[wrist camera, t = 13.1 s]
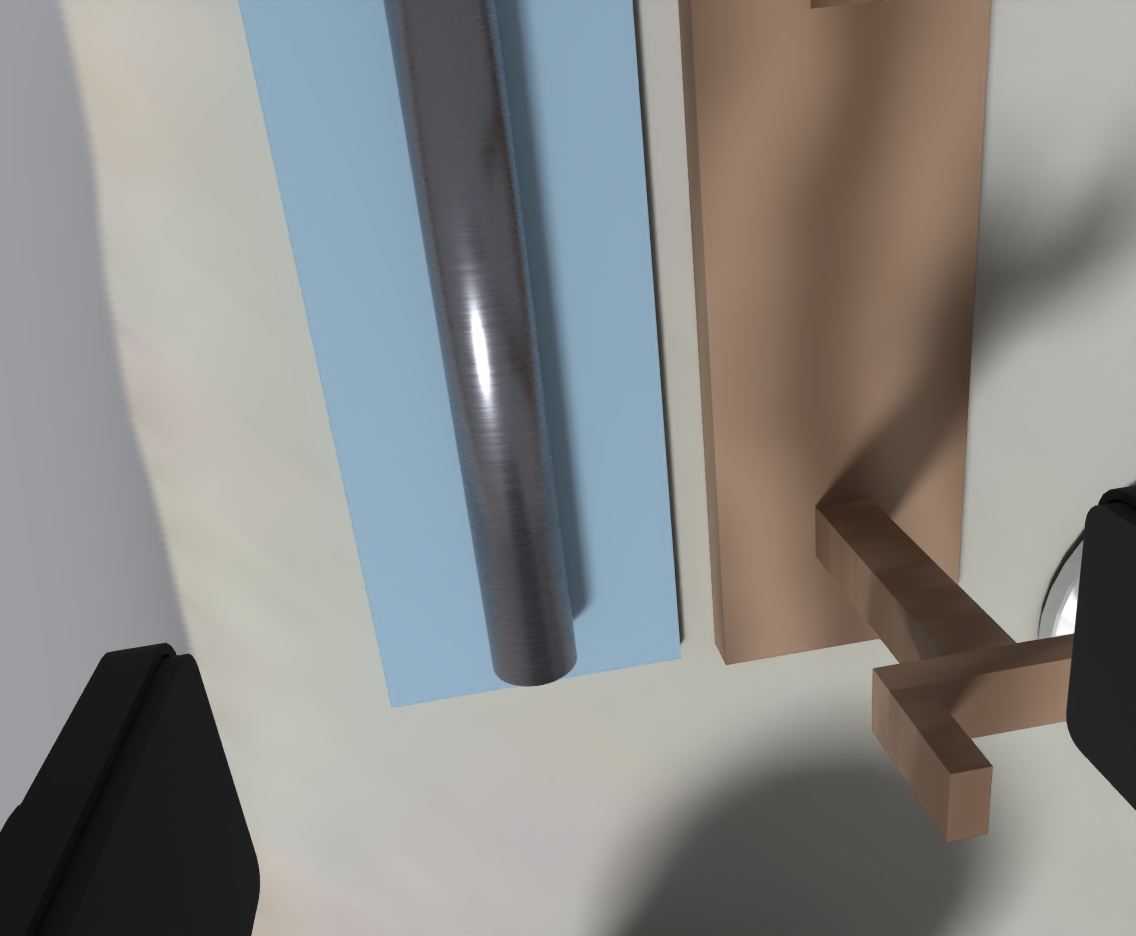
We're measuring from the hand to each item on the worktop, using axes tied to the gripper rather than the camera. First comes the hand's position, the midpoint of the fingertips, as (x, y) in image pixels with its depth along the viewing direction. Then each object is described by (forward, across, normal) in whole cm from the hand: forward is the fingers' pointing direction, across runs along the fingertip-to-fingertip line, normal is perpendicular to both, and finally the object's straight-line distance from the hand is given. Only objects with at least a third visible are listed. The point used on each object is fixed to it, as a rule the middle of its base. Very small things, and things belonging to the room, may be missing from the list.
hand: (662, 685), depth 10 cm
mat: (+23, +1, 0) cm, 23 cm away
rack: (+24, -10, +2) cm, 26 cm away
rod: (+23, +1, 0) cm, 23 cm away
